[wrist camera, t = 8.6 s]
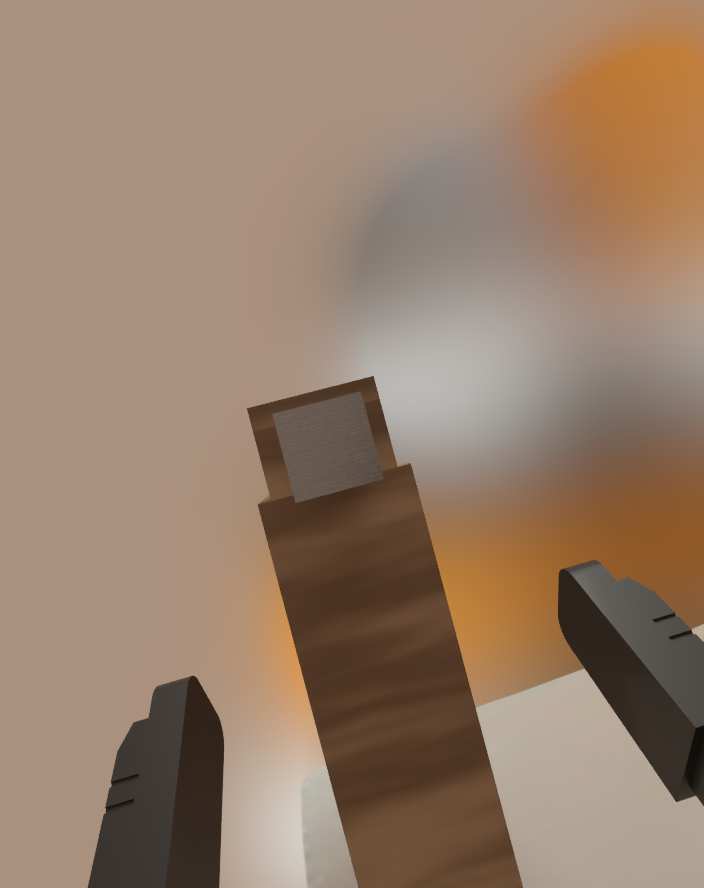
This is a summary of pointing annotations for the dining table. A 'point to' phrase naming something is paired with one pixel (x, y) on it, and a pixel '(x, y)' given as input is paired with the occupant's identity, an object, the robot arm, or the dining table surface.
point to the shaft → (328, 446)
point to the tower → (384, 670)
